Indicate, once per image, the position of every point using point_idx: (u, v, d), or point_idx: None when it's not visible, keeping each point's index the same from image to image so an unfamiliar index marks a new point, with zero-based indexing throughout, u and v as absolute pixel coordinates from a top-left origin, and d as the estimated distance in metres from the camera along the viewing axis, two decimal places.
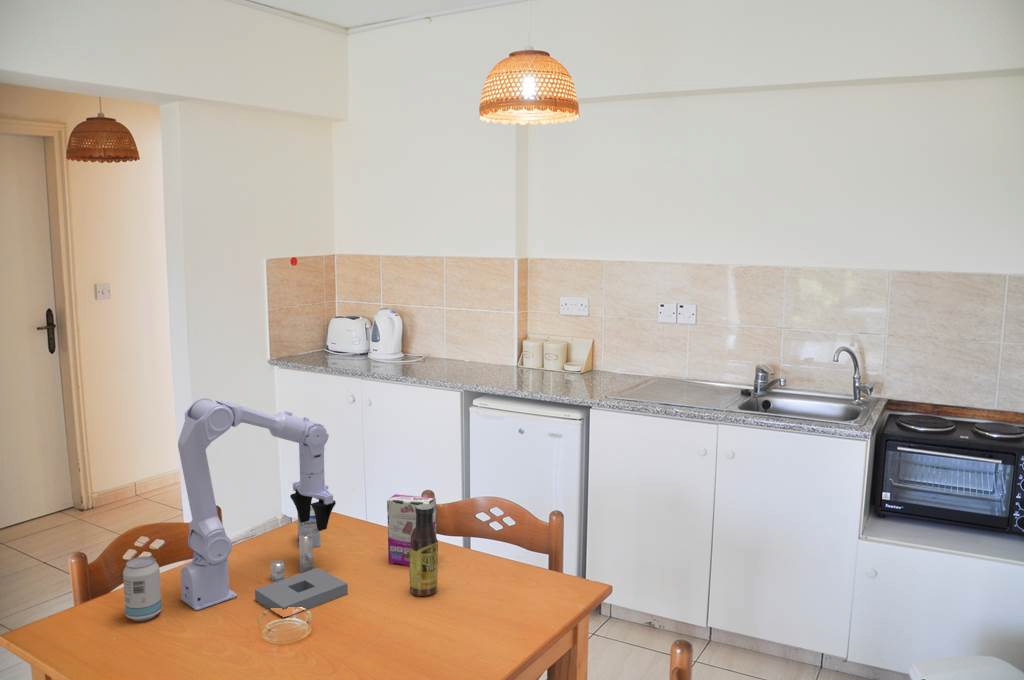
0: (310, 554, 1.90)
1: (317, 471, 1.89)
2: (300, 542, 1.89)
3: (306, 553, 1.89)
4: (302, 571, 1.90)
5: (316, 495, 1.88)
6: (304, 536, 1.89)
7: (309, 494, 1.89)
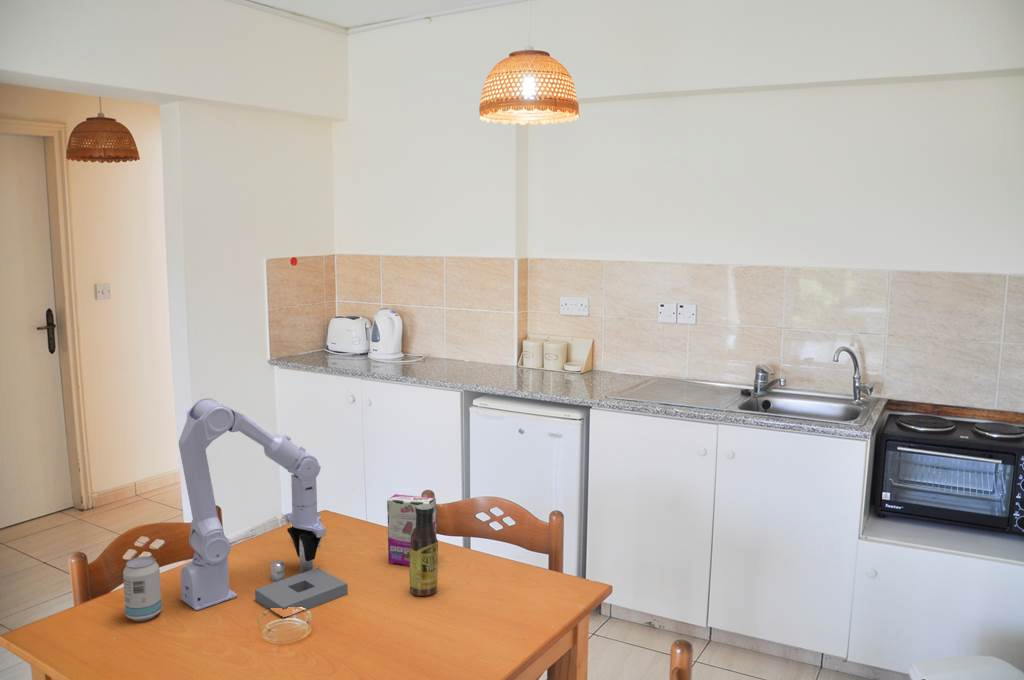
0: None
1: (308, 503, 1.87)
2: (300, 542, 1.89)
3: None
4: (302, 571, 1.90)
5: (308, 528, 1.85)
6: None
7: (301, 527, 1.86)
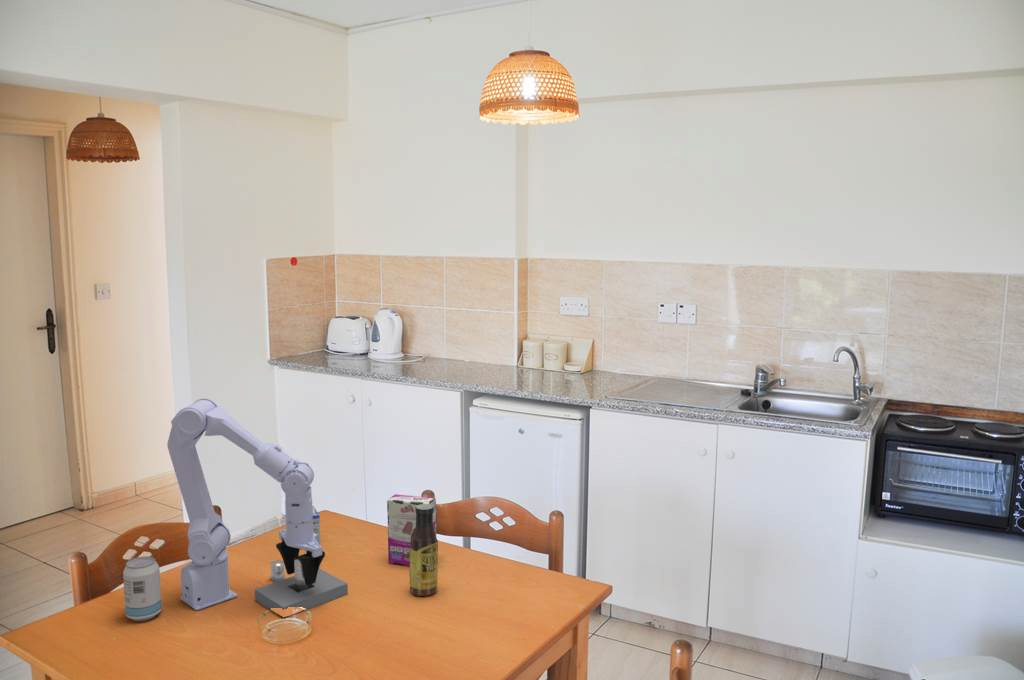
0: None
1: (295, 521, 1.73)
2: (295, 566, 1.76)
3: (302, 577, 1.76)
4: None
5: (303, 547, 1.72)
6: None
7: (296, 545, 1.73)
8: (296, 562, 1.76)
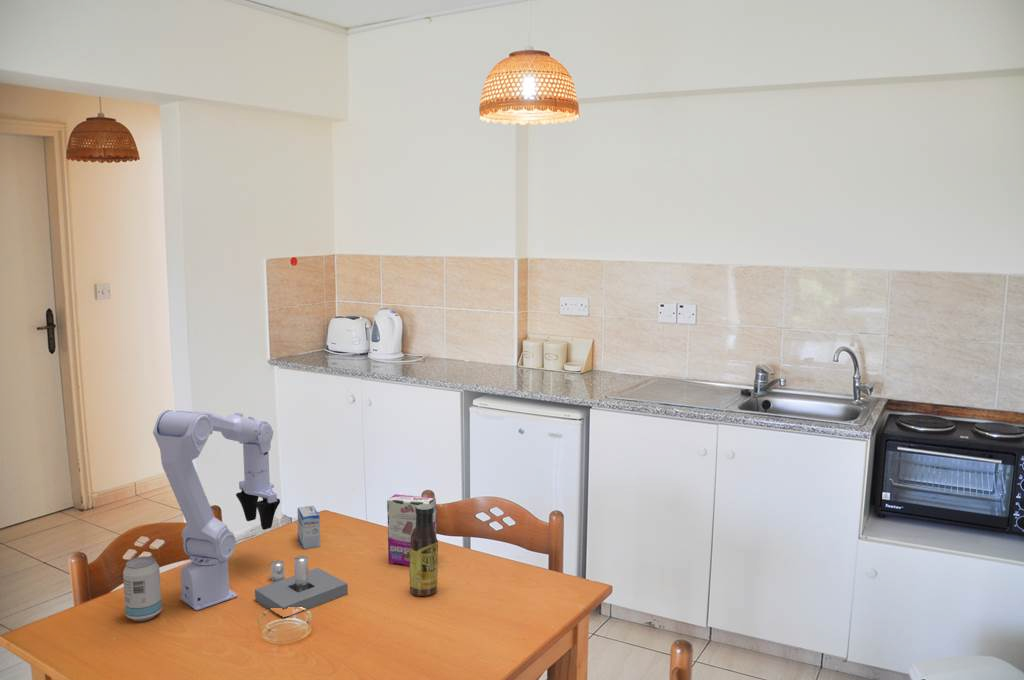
0: (306, 578, 1.77)
1: (266, 468, 1.90)
2: (295, 566, 1.76)
3: (302, 577, 1.76)
4: None
5: (260, 494, 1.88)
6: (300, 560, 1.76)
7: (253, 493, 1.89)
8: (296, 562, 1.76)
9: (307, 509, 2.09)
